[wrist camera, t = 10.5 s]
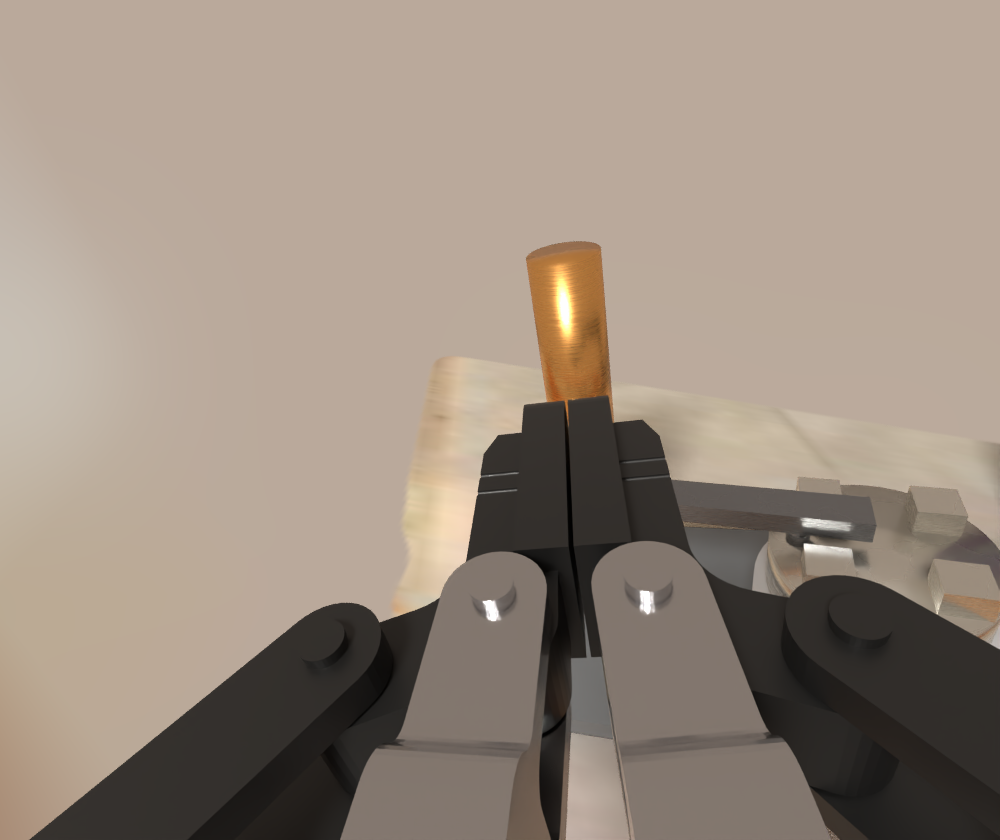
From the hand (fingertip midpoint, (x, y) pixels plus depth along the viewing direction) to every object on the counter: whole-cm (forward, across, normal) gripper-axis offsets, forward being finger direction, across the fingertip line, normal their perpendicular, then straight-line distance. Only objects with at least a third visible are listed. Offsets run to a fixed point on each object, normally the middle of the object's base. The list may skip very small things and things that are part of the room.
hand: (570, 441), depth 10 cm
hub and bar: (+12, -7, +18) cm, 22 cm away
